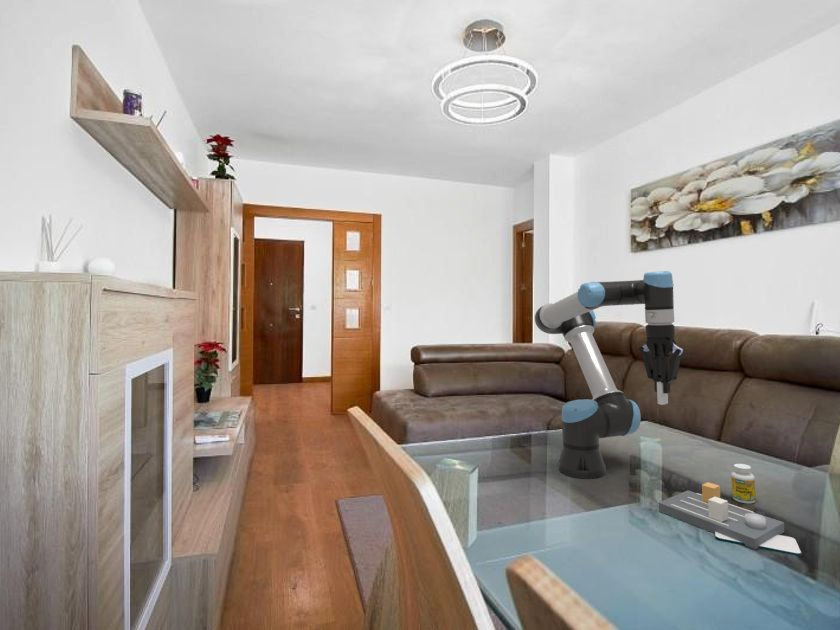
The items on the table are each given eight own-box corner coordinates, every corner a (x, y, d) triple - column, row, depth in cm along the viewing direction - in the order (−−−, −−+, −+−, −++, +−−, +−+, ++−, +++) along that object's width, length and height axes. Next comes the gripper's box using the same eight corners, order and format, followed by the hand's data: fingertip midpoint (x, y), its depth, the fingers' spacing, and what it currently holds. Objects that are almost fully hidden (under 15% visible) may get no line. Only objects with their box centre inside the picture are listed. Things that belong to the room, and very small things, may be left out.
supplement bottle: (754, 497, 127) (753, 464, 127) (757, 505, 122) (756, 470, 122) (731, 494, 129) (729, 461, 129) (733, 502, 125) (732, 468, 125)
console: (658, 511, 122) (658, 495, 122) (688, 498, 128) (687, 483, 128) (755, 549, 101) (754, 530, 101) (784, 532, 108) (783, 514, 108)
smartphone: (795, 541, 105) (713, 526, 113) (795, 537, 105) (713, 522, 113) (802, 558, 98) (715, 541, 106) (802, 554, 98) (715, 537, 106)
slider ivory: (708, 517, 112) (708, 499, 112) (715, 514, 113) (714, 496, 113) (721, 522, 109) (721, 503, 109) (728, 518, 110) (727, 500, 110)
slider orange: (702, 501, 120) (701, 484, 120) (708, 498, 122) (708, 482, 122) (714, 505, 118) (713, 488, 118) (720, 502, 119) (719, 485, 119)
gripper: (631, 324, 136) (634, 401, 136) (673, 325, 124) (677, 409, 125) (647, 322, 139) (650, 398, 140) (689, 323, 128) (692, 405, 129)
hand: (662, 403), depth 132 cm, fingers closed
